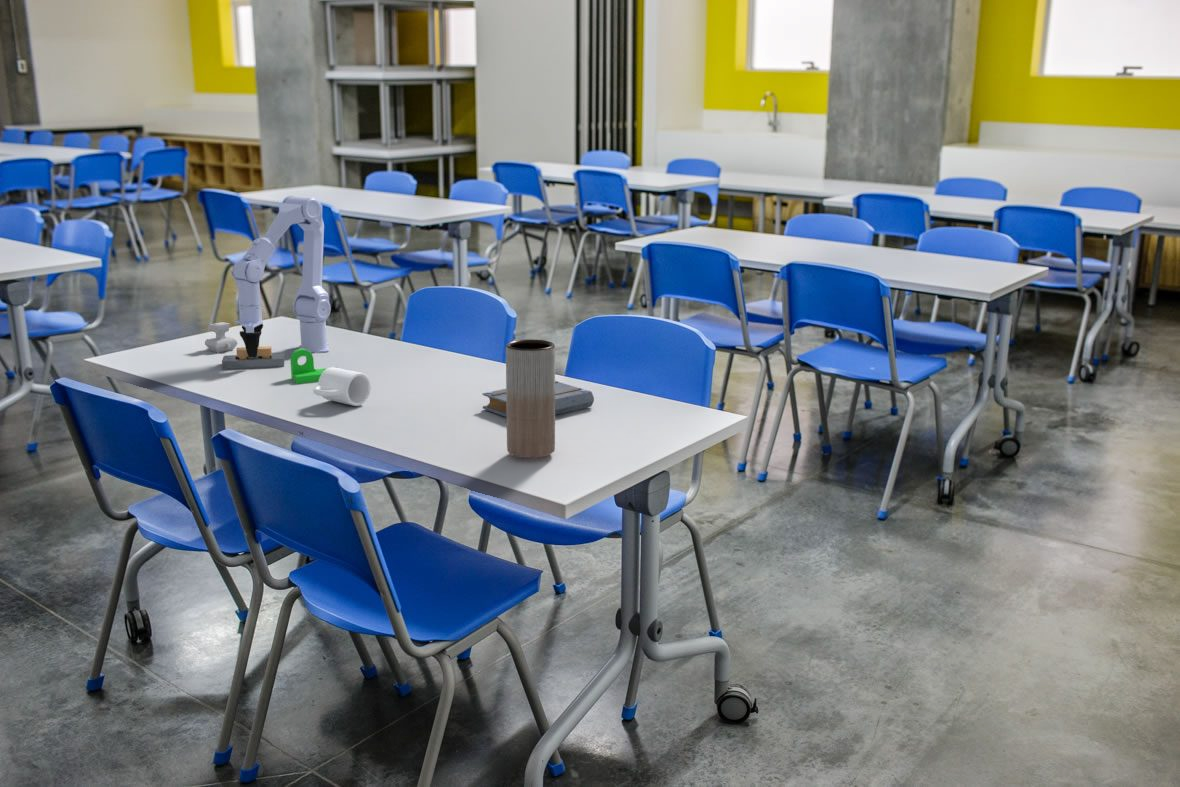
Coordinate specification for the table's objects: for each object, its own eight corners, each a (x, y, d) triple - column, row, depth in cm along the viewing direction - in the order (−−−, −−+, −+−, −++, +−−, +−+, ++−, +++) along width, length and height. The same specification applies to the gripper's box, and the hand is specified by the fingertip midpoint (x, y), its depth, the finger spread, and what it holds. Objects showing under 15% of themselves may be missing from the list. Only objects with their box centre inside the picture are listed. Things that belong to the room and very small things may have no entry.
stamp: (203, 351, 320) (200, 323, 318) (223, 348, 325) (221, 319, 323) (219, 356, 314) (217, 327, 312) (240, 352, 319) (238, 324, 317)
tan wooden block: (238, 365, 303) (237, 347, 302) (272, 364, 305) (271, 346, 304) (237, 367, 301) (236, 350, 299) (272, 366, 303) (270, 348, 301)
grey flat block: (224, 364, 304) (223, 355, 304) (284, 361, 308) (284, 353, 307) (222, 370, 298) (221, 361, 297) (284, 367, 301) (283, 358, 301)
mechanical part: (297, 384, 285) (295, 354, 283) (291, 379, 290) (289, 349, 288) (343, 379, 290) (341, 349, 288) (336, 374, 295) (335, 345, 293)
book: (524, 424, 251) (524, 403, 250) (481, 409, 263) (481, 389, 262) (593, 408, 265) (593, 388, 264) (549, 395, 277) (549, 375, 276)
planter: (516, 441, 237) (515, 337, 231) (561, 446, 234) (561, 341, 229) (499, 455, 228) (498, 347, 222) (545, 460, 225) (545, 351, 219)
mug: (343, 395, 273) (341, 364, 271) (371, 402, 268) (370, 370, 266) (305, 406, 264) (303, 373, 262) (334, 412, 258) (332, 379, 256)
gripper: (236, 300, 305) (239, 348, 308) (232, 309, 291) (236, 360, 294) (262, 299, 306) (266, 347, 310) (260, 309, 292) (263, 359, 296)
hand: (253, 353), depth 302 cm, fingers open, 7 cm apart
